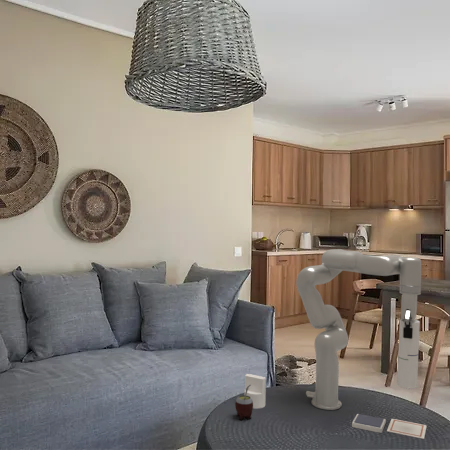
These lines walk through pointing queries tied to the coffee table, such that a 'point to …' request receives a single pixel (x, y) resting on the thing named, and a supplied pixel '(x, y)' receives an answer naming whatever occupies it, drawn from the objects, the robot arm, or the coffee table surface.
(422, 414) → the coffee table surface
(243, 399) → the mate gourd
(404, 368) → the cylindrical container
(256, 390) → the base with upright slab
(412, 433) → the marked paper
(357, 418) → the ink pad
